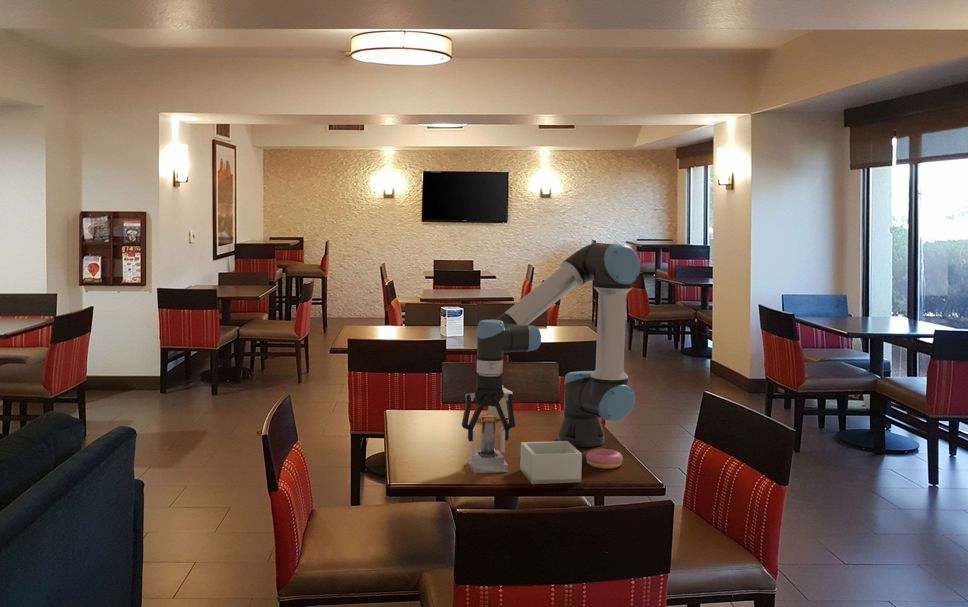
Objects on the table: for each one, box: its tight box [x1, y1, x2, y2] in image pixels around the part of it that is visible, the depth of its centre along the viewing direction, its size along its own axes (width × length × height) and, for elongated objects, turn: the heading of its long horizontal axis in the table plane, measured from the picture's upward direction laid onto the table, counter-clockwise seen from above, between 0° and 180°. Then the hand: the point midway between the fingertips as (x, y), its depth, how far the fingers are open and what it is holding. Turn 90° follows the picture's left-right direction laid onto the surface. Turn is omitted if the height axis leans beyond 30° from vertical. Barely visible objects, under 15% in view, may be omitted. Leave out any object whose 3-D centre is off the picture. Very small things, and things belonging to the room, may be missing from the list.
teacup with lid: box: [487, 384, 514, 420], centre depth 326 cm, size 12×9×12 cm
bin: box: [519, 440, 583, 485], centre depth 253 cm, size 14×14×8 cm
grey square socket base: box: [467, 449, 509, 474], centre depth 260 cm, size 10×10×4 cm
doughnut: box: [585, 448, 624, 470], centre depth 266 cm, size 11×11×4 cm
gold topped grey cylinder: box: [480, 414, 497, 457], centre depth 259 cm, size 5×5×13 cm
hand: (487, 451), depth 260 cm, fingers open, 8 cm apart
